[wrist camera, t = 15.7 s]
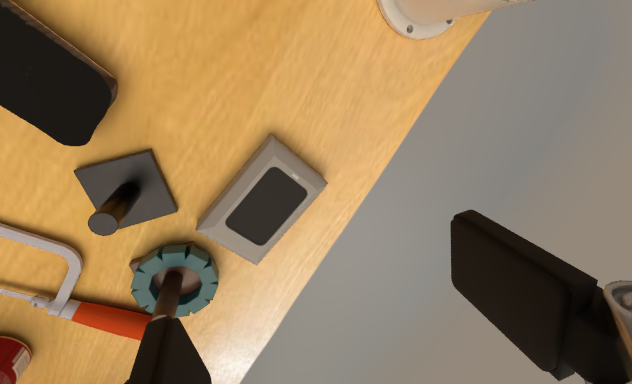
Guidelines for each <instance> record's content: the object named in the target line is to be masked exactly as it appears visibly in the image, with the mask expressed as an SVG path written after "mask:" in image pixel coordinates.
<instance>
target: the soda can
mask: <svg viewBox="0 0 632 384" xmlns="http://www.w3.org/2000/svg"><path fill="white" fill-rule="evenodd" d="M31 358H32V354H31V351H30V349H29V348H28V346H27V345H26V344H24V343H23V342H21V341H19V340H17V339H14V338H11V337H6V336H0V384H16V383H17V381H18V380H19V378H20V377H21V375H22V374H23V372H24V371H25V369H26V368H27V366H28V365H29V363H30V361H31Z"/></svg>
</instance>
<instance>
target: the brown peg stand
mask: <svg viewBox="0 0 632 384" xmlns="http://www.w3.org/2000/svg"><path fill="white" fill-rule="evenodd" d="M183 245H185V244H183ZM186 245H187V251H188V249H189V248H190V247H191V246H194V247H196V246H195V244H194V242H193V241H192V242H189V243H186ZM144 257H146V256H144ZM144 257H141V258H138V259H135V260H132V261H131V262H130V264H129V266H130V268H131V269H132V271H133V273H134V274H135V271H136V269H137V267H138V265H139V263H140V262H141V261H142V259H143V258H144ZM152 280H153V282H154V283H155V285H156V287H157V289H158V290H159V291H160V292H159V295H158V298H157V302H156V305H155V308H154V311H153V315H152V318H151V321H153V320H156V319H159V318H162V317H164V316H167V315H170V316H171V317H172V318H173V319H174V318H175V316H176V311H177V306H178V302H179V297H180V295H188V294H189V293H191V292H192V291H194V290H195V289H197V288H198V287H199V286H200V283H201V280H200V278H199V276H198V274H197V272H195V271H192V270H190V269H188V268H186V267H184V266H176V267H165V268H164V269H162V270H161V271H159V272H158V273H156V274H155V275H153V278H152Z"/></svg>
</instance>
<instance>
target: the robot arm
mask: <svg viewBox="0 0 632 384" xmlns="http://www.w3.org/2000/svg"><path fill="white" fill-rule="evenodd" d="M529 1H534V0H377V2H378V6H379V8H380V11H381V13H382V15H383V17H384V19H385V20H386V22H387V23H388V25H389V26H390V27H391V28H392V29H393V30H394V31H395V32H397V33H398V34H400V35H401V36H403V37H406V38H409V39H415V40H421V39H428V38H432V37H435V36H437V35H439V34H441V33H443V32H444V31H446V30H447V29H448V28H450V27H451V26H452V25H453V24H454V23H455V21H456V20H457V19H458V18H460V17H464V16H468V15H473V14H477V13H481V12H486V11H490V10H494V9H499V8H503V7H507V6H512V5H516V4H521V3H525V2H529ZM451 274H452V275H451V278H452V283H453V285H454V287H455V288H456V289H457V290H458V291H459V292H460V293H461V294H462V295H463V296H464V297H465V298H466V299H467V300H468V301H469V302H471V303H472V304H473V305H474V306H475V307H476V308H477V309H478V310H479V311H480V312H481V313H482V314H483V315H484V316H485V317H486V318H487V319H488V320H489V321H490V322H491V323H492V324H494V325H495V326H496V327H497V328H498V329H499V330H500V331H501V332H502V333H503V334H504V335H505V336H506V337H507V338H508V339H509V340H510V341H511V342H513V344H515V345H516V346H517V347H518V348H519V349H520V350H521V351H522V352H523V353H524V354H525V355H526V356H527V357H528V358H529V359H530V360H531V361H532V362H534V363H535V364H536V365H537V366H538V367H539V368H540V369H541V370H543V371H546V372H550V373H551V374H552V375H553V376H554V377H555V378H556V379H557V380H558V381H560V380H562V379H565V378H567V377H569V376H571V375H573V374H574V373H575V372H576V373H578V374H579V375H580V376H581V377H582V378H583V379H584V381H585V384H632V281H621V280H620V281H615V282H611V283H609V284H607V285H606V286H605V288H604V290H603V289H602V288H600V287H598V286H597V281H598V280H596V279H595V278H593V277H591V276H590V275H588V274H586V273H584V272H582V271H581V270H579V269H577V268H575V267H574V266H572V265H570V264H568V263H566V262H565V261H563V260H561V259H559V258H558V257H556V256H554V255H552V254H551V253H549V252H547V251H545V250H544V249H542V248H540V247H538V246H536V245H535V244H533V243H531V242H529V241H528V240H526V239H524V238H522V237H520V236H519V235H517V234H515V233H513V232H511V231H510V230H508V229H506V228H505V227H503V226H501V225H499V224H498V223H496V222H494V221H492V220H490V219H489V218H487V217H485V216H483V215H482V214H480V213H478V212H476V211H474V210H467V211H464V212H462V213H459V214H456V215H455V216H454V218H453V220H452V221H451ZM124 384H212V382H211V377H210V374H209V372H208V370H207V368H206V366H205V365H204V363H203V361H202V359H201V357H200V356H199V354H198V352H197V350H196V348H195V347H194V345H193V343H192V341H191V339H190V338H189V336H188V334H187V332H186V330H185V329H184V327H183V325H182V323H181V321H180V320H179V318H174V319H173V318H172V317H171V316H170V315H167V316H164V317H162V318H159V319H156V320H153V321H150V322H148V323H147V325H146V328H145V331H144V334H143V337H142V340H141V343H140V346H139V350H138V353H137V356H136V359H135V362H134V365H133V368H132V372H131V375H130V378H129V380H127V381H126V382H125V383H124Z"/></svg>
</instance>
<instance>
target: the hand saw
mask: <svg viewBox="0 0 632 384" xmlns="http://www.w3.org/2000/svg"><path fill="white" fill-rule="evenodd" d="M0 237H3V238H6V239H10V240H13V241H16V242H20V243H23V244H26V245H29V246H33V247H36V248H39V249H43V250H46V251H49V252H52V253H56V254H58V255H60V256H62V257H64V258H65V259H66V260H67V262H68V264H69V270H68V273H67V275H66V277H65V279H64V281H63V283H62V286H61V288H60V290H59V292H58V294H57V296H56V298H55V300H52V301H51V298H47V297H43V296H39V295H36V296H35V297H33V296H29V295H25V294H21V293H17V292H13V291H9V290H5V289H1V288H0V294H4V295H8V296H12V297H16V298H20V299H24V300H28V301H30V306H33V307H36V306H37V308H42V309H45V308H46V307H47V308H48V309H49V310H48V312H47V314H49V315H53V316H57V317H60V318H64V319H68V320H71V321H74V322H77V323H80V324H83V325H86V326H89V327H93V328H96V329H99V330H103V331H106V332H110V333H113V334H117V335H120V336H124V337H128V338H133V339H137V340H142V337H143V334H144V331H145V328H146V325H147V323H148V322H150V321H151V318H152V316H149V315H145V314H141V313H136V312H132V311H128V310H123V309H118V308H114V307H109V306H104V305H99V304H93V303H88V302H81V301H77V300H73V299H69V297H70V295H71V293H72V291H73V289H74V287H75V284H76V282H77V280H78V278H79V276H80V274H81V272H82V269H83V261H82V258H81V256H80V255H79V253H78V252H77V251H76V250H75V249H73V248H72V247H70V246H68V245H67V244H64V243H61V242H58V241H55V240H51V239H48V238H45V237H42V236H39V235H36V234H33V233H29V232H26V231H23V230H20V229H17V228H14V227H11V226H7V225H4V224H1V223H0Z"/></svg>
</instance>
